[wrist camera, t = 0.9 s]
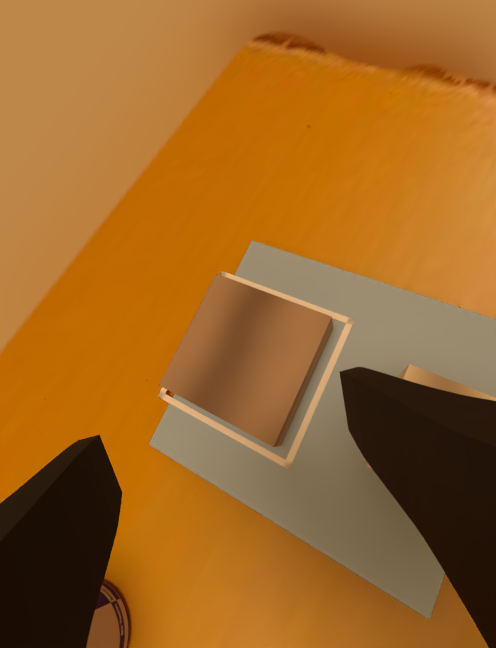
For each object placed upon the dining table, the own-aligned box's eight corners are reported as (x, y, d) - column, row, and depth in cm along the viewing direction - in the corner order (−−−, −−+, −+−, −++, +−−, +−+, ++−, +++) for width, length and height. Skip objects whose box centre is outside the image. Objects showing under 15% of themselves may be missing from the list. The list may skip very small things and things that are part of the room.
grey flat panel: (526, 332, 20) (531, 329, 20) (427, 615, 18) (429, 620, 17) (242, 240, 27) (240, 236, 26) (141, 437, 25) (136, 437, 24)
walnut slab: (333, 328, 23) (331, 316, 20) (281, 445, 22) (273, 447, 19) (228, 287, 26) (216, 273, 23) (176, 389, 24) (158, 384, 22)
